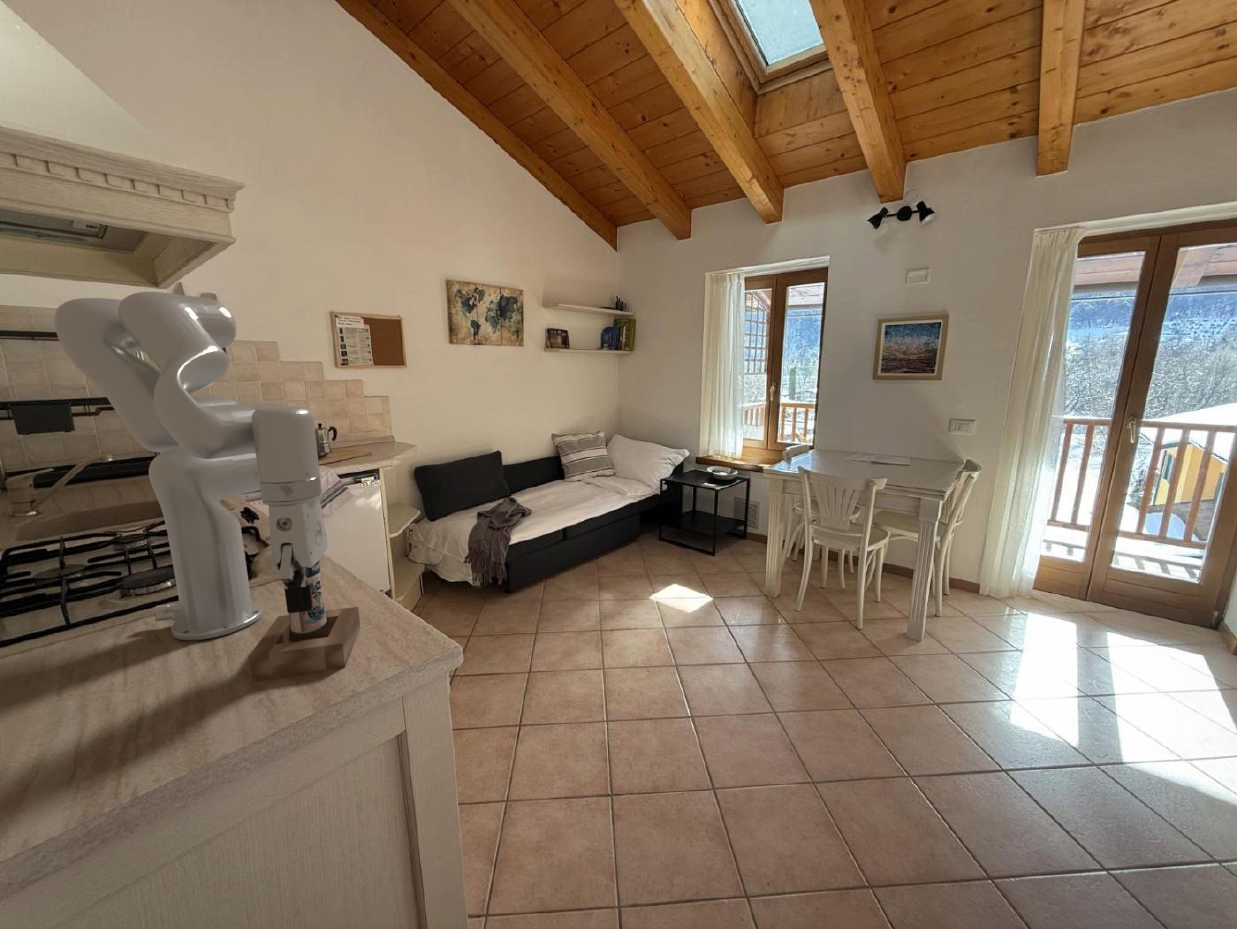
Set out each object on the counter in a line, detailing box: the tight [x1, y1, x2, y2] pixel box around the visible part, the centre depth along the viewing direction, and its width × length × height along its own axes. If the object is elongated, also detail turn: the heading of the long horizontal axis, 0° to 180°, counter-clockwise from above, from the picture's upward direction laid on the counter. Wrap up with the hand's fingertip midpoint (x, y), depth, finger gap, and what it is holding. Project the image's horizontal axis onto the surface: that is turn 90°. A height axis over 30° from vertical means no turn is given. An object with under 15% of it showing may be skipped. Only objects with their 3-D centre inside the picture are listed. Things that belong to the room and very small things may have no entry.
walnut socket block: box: [248, 606, 361, 682], centre depth 78 cm, size 12×12×4 cm
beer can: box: [288, 559, 326, 634], centre depth 76 cm, size 5×5×12 cm
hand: (305, 601), depth 77 cm, fingers closed on beer can, 4 cm apart
